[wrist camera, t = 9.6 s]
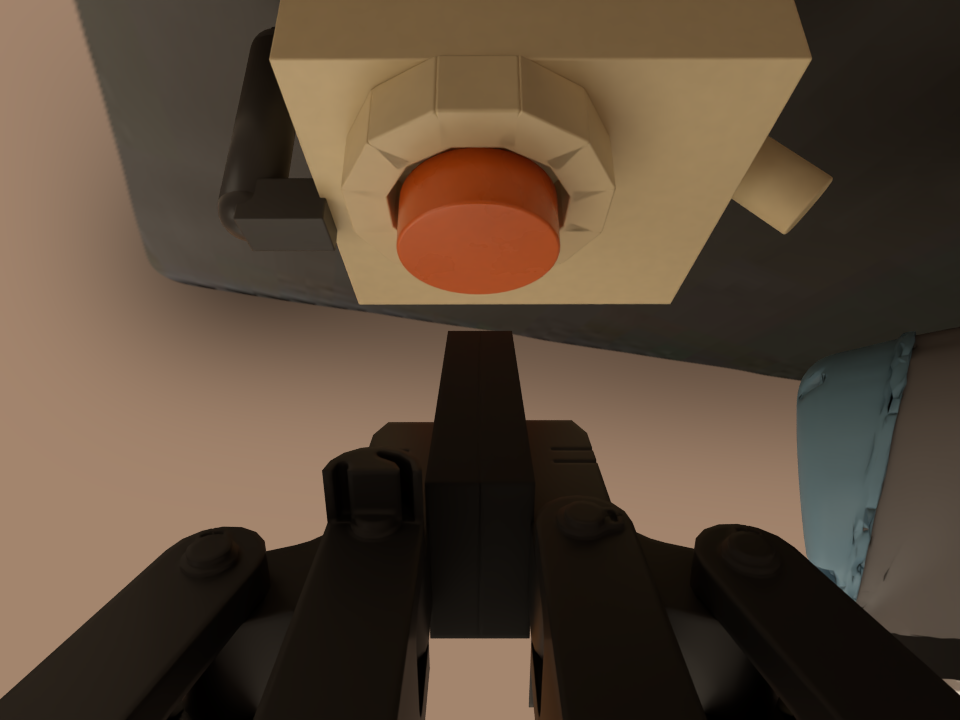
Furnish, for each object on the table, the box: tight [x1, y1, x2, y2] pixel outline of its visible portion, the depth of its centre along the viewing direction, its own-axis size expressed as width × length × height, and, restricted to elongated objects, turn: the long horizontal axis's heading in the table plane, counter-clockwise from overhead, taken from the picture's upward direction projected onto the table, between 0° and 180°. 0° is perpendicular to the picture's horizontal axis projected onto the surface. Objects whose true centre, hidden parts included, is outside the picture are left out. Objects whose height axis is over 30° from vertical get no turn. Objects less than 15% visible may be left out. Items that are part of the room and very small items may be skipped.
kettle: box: [269, 0, 812, 304], centre depth 22 cm, size 13×12×12 cm
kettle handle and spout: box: [218, 27, 833, 251], centre depth 22 cm, size 20×13×11 cm, turn 90°
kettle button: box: [396, 148, 560, 294], centre depth 17 cm, size 4×4×2 cm
